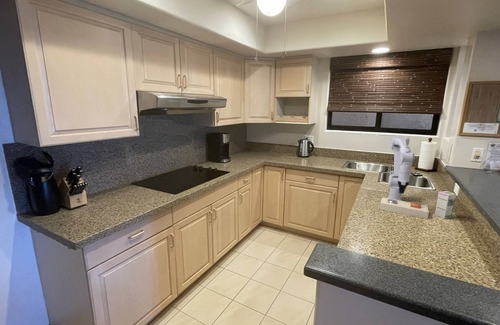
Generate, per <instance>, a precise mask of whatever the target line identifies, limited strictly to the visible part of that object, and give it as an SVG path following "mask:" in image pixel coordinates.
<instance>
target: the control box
mask: <svg viewBox="0 0 500 325" xmlns="http://www.w3.org/2000/svg"><path fill="white" fill-rule="evenodd" d="M388 199H389V198H388V197H382V198H381V200H380V203H379V204H380V205H379V210H383V211H386V212H387V211H388V212H392V213H398V214H401V215H406V216H407V215H408V216H412V217H417V218H422V219H427V220H428V217H429V212H430V211H429V209H428V205H426V204H422V203H420V204H421V207H420V208H414V207H411V203H412V202H410V201H404V200H401V201H400V200H396V201H397V204H393V203H388ZM392 200H394V199H392Z"/></svg>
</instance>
